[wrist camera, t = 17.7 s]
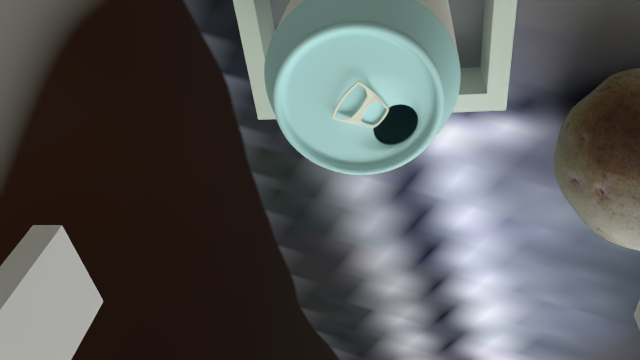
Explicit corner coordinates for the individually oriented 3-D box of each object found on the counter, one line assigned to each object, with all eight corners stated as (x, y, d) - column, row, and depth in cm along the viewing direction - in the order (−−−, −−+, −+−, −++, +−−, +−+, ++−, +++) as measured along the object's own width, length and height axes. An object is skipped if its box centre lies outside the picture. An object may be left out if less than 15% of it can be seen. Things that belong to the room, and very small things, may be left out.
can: (445, -92, 25) (469, -5, 16) (443, 51, 29) (461, 189, 20) (295, -77, 26) (233, 12, 17) (313, 59, 30) (272, 192, 21)
